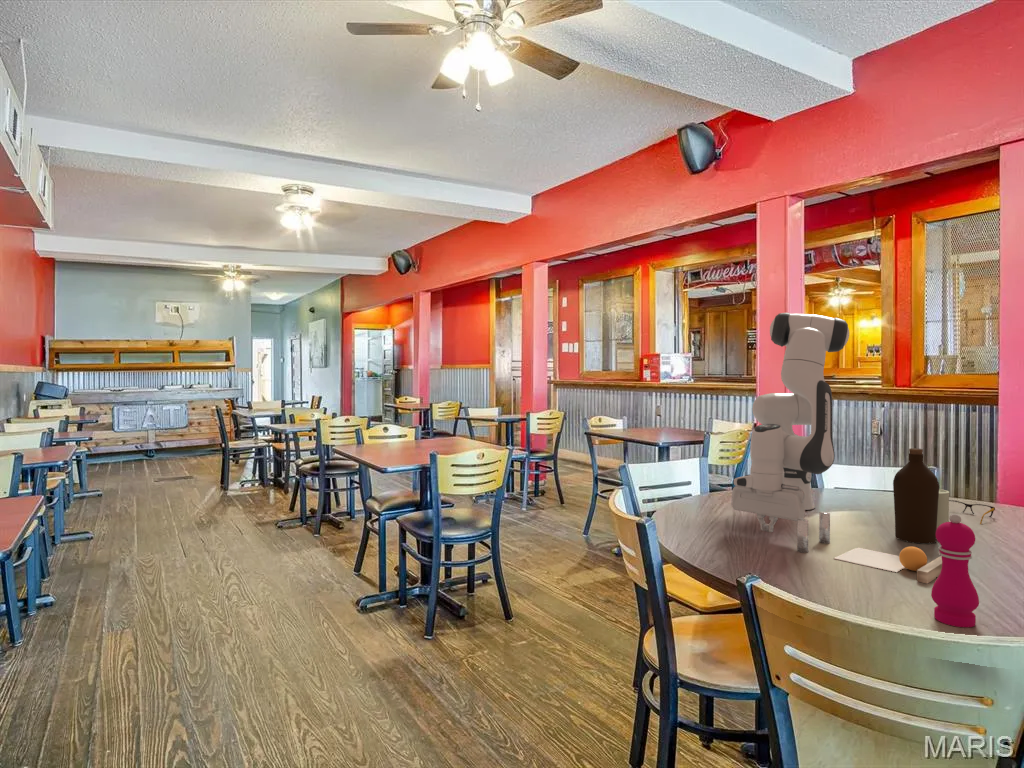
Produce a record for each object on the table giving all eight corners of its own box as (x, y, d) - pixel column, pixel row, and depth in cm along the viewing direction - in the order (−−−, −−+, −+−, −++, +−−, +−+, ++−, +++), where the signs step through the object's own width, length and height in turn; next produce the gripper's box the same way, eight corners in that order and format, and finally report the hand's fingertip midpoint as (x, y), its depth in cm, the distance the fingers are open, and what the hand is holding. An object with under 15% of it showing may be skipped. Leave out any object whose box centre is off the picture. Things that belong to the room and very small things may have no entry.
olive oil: (923, 546, 162) (924, 452, 161) (884, 537, 171) (884, 448, 171) (947, 541, 167) (948, 449, 166) (907, 532, 176) (908, 445, 176)
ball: (895, 547, 143) (922, 554, 139) (905, 540, 146) (932, 547, 142) (894, 569, 144) (920, 577, 140) (904, 562, 147) (930, 570, 143)
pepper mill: (931, 610, 119) (931, 508, 119) (977, 618, 115) (978, 512, 115) (930, 623, 113) (931, 515, 113) (980, 632, 109) (980, 520, 109)
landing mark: (833, 558, 152) (833, 558, 152) (857, 548, 161) (857, 547, 161) (896, 572, 141) (896, 571, 141) (918, 560, 150) (918, 559, 150)
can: (955, 534, 174) (956, 492, 174) (919, 532, 176) (919, 491, 175) (940, 526, 183) (940, 486, 183) (905, 525, 185) (906, 485, 184)
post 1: (795, 550, 159) (795, 520, 159) (800, 549, 161) (800, 518, 160) (805, 553, 157) (805, 522, 157) (810, 551, 159) (810, 520, 158)
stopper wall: (916, 581, 136) (917, 570, 136) (946, 562, 148) (946, 552, 148) (927, 583, 134) (927, 572, 134) (956, 564, 147) (956, 554, 147)
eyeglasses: (996, 518, 193) (996, 506, 193) (980, 526, 185) (980, 512, 185) (943, 510, 205) (943, 499, 205) (926, 517, 196) (926, 504, 196)
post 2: (817, 542, 167) (817, 512, 167) (821, 540, 169) (821, 511, 168) (827, 544, 165) (827, 514, 165) (831, 542, 167) (831, 513, 166)
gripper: (809, 485, 167) (809, 536, 167) (740, 476, 182) (740, 522, 183) (798, 488, 162) (798, 540, 163) (728, 478, 178) (728, 526, 179)
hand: (767, 530), depth 173 cm, fingers closed
